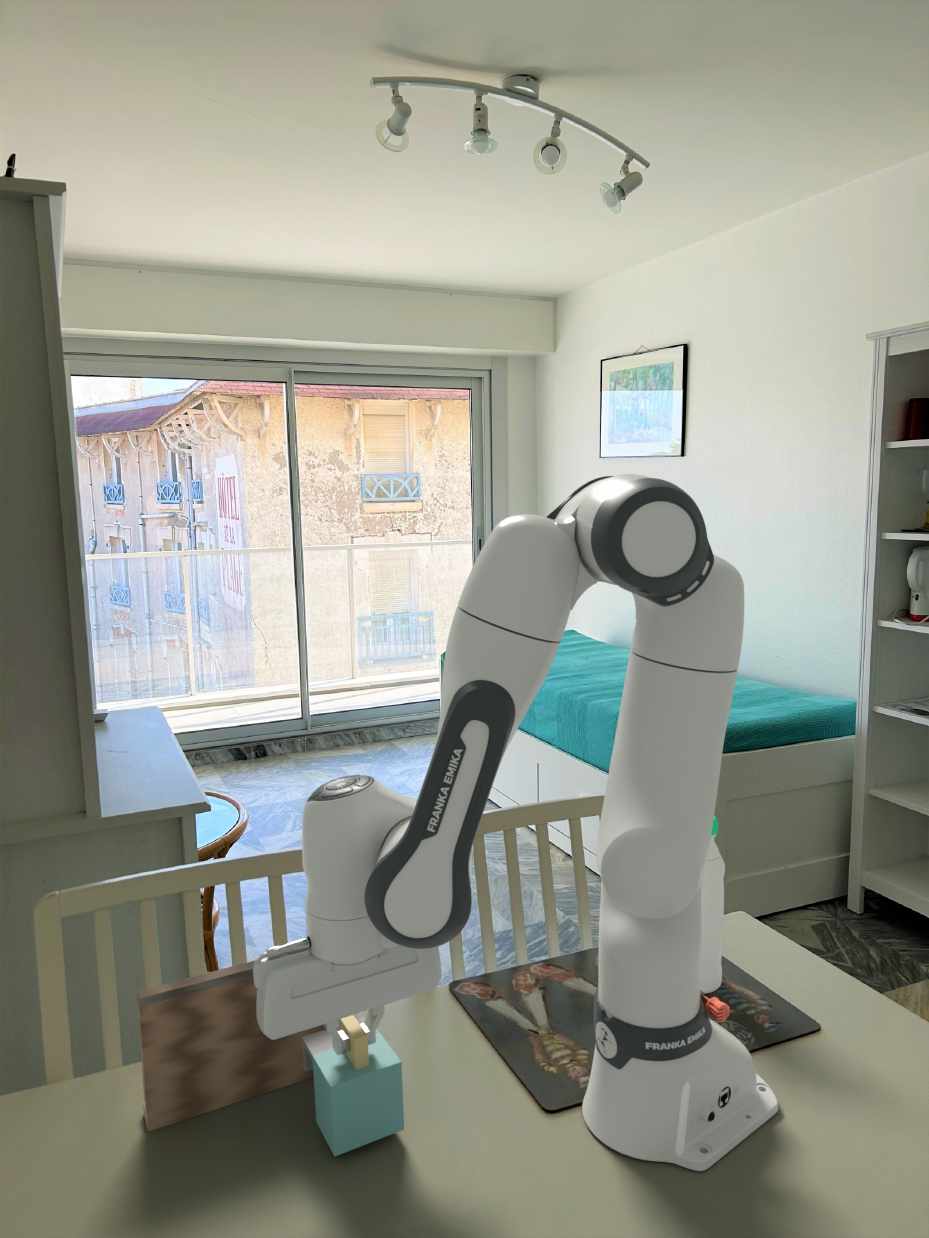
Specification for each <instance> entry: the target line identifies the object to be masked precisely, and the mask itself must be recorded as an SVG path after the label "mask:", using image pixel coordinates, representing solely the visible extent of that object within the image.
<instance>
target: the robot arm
mask: <svg viewBox="0 0 929 1238" xmlns="http://www.w3.org/2000/svg"><path fill="white" fill-rule="evenodd" d="M598 582H599V583H600V582H601V583H606V584H610V585H614V586H617V587H619V588H621V589H623V590H625V591H627V592H629V593H631V595H632V596H633V599H634V604H635V620H636V621H635V625H634V629H633V635H632V639H631V644H630V650H629V655H628V659H627V667H626V673H625V678H624V683H623V689H622V694H621V695H622V696H621V702H620V707H619V713H618V717H617V718H618V719H617V724H616V730H615V736H614V741H613V748H612V753H611V757H610V763H609V770H608V775H607V782H606V786H605V792H604V796H603V802H602V809H601V813H600V814H601V815H600V820H599V826H598V830H597V831H598V832H597V837H596V843H595V858H596V865H597V869H598V872H599V877H600V879H601V884H600V903H599V921H598V968H597V969H598V976H597V978H598V980H597V981H598V983H597V984H598V985H597V988H596V990H595V992H594V999H593V1001H594V1002H593V1032H594V1039H595V1040H594V1041H595V1045H594V1051H593V1059H592V1065H591V1070H590V1075H589V1079H588V1084H587V1088H586V1091H585V1094H584V1097H583V1100H582V1105H581V1107H582V1114H583V1115H582V1116H583V1119H584V1122H585V1123H586V1126H587V1127H588V1129H589V1130H590V1131H591V1133H592V1134H593V1135H594V1136H595V1137H596V1138H597V1139H598V1140H599V1141H600V1142H602V1143H603V1144H604V1145H606V1146H607V1147H609V1148H610V1149H613V1151H614V1150H615V1151H616V1152H618V1153H620V1154H622V1155H625V1156H628V1157H631V1158H634V1159H638V1160H642V1161H648V1162H649V1161H650V1162H662V1163H664V1162H665V1163H670V1164H675V1165H677V1166H680V1167H682V1168H686V1169H689V1170H693V1171H697V1172H703V1171H706V1170H708V1169H709V1168H711V1167H712V1166H713V1165H714V1164H715V1163H717V1162H718V1161H719V1160H721V1158H723V1157H724V1156H725V1155H726V1154H728V1153H729V1152H730V1151H731V1150H733V1149H734V1148H735V1147H736V1146H737V1145H739V1144H740V1143H741V1142H743V1141H744V1140H745V1139H746V1138H747V1137H749V1136H750V1135H751V1134H752V1133H754V1132H755V1131H756V1130H757V1129H759V1128H760V1127H761V1126H762V1125H763V1124H765V1123H766V1122H767V1121H769V1119H771V1118H772V1117H773V1116H775V1115H776V1113H778V1111H779V1103H778V1099H777V1097H776V1095H775V1093H774V1092H773V1090H772V1089H771V1087H770V1086H769V1084H768V1083H767V1082H766V1081H765V1080H764V1079H763V1078H762V1077H761V1076H760V1075H759V1074H758V1073H757V1071H756V1065H755V1061H754V1059H753V1057H752V1055H751V1053H750V1051H749V1050H748V1048H747V1047H746V1046H745V1045H744V1044H743V1043H742V1041H740V1040H739V1038H737V1037H736V1036H735V1035H734V1034H732V1033H731V1032H729V1030H727V1029H726V1028H724V1026H721V1025H720V1024H718V1023H717V1022H719V1023H723V1022H725V1021H726V1020H727V1019H728V1017H729V1016H730V1012H731V1010H730V1006H729V1005H728V1004H727V1003H726V1002H723V1001H720V999H719V998H718V997H716V996H713V997H711V998H709V997H708V996H705V994H704V992H703V991H701V990H700V977H701V942H702V925H701V882H702V879H703V876H704V872H705V869H706V863H707V857H708V851H709V845H710V839H711V832H712V826H713V819H714V816H715V813H716V812H715V811H716V805H717V804H716V803H717V796H718V790H719V782H720V774H721V767H722V759H723V751H724V743H725V737H726V731H727V728H728V727H727V726H728V721H729V716H730V712H731V706H732V702H733V697H734V691H735V686H736V681H737V676H738V671H739V664H740V658H741V653H742V645H743V637H744V626H745V625H744V623H745V585H744V580H743V577H742V575H741V573H740V572H739V570H738V569H737V568H736V567H735V566H734V565H733V564H731V563H730V562H729V561H727V560H726V559H724V558H723V557H720V556H717V555H715V554H714V553H713V549H712V547H711V544H710V542H709V538H708V533H707V527H706V523H705V519H704V516H703V514H702V512H701V510H700V507H699V506H698V504H697V503H696V502H695V500H694V499H693V498H692V497H691V495H689V494H688V493H687V492H686V491H685V490H684V489H682V488H680V487H679V486H678V485H676V484H675V483H673V482H671V481H668V480H665V479H663V478H662V479H661V478H656V477H655V478H654V477H650V476H646V475H642V474H635V473H626V474H624V473H623V474H618V475H607V476H606V475H605V476H600V477H597V478H594V479H591V480H589V481H587V482H585V483H584V484H582V485H580V486H579V487H578V488H577V489H575V491H573V492H572V493H571V494H570V495H569V496H568V497H567V498H565V500H564V501H562V502H561V503H560V504H559V505H558V506H557V507H556V508H555V509H554V510H553V511H551V512H550V513H549V514H548V515H547V516H543V515H539V514H532V513H531V514H529V513H524V514H515V515H510V516H508V517H507V516H506V517H505V518H503V519H501V521H499V522H498V523H497V524H496V525H495V526H494V528H493V529H492V531H491V533H490V535H488V538H487V539H486V541H485V542H484V544H483V546H482V548H481V550H480V552H479V554H478V555H477V557H476V559H475V561H474V564H473V566H472V568H471V571H470V572H469V574H468V577H467V579H466V582H465V584H464V587H463V589H462V591H461V595H460V597H459V600H458V603H457V606H456V608H455V611H454V615H453V617H452V621H451V625H450V629H449V633H448V636H447V637H448V638H447V642H446V646H445V647H446V648H445V654H444V660H443V661H444V662H443V669H442V679H441V695H440V708H439V709H440V711H439V719H438V729H437V736H436V740H435V743H434V744H435V745H434V749H433V752H432V755H431V759H430V761H429V765H428V766H427V767H428V768H427V769H426V770H427V771H426V773H425V777H424V779H423V781H422V785H421V788H420V791H419V794H418V796H417V798H413V797H410V796H406V795H404V794H401V793H399V792H396V791H394V790H393V789H390V788H388V787H386V786H385V785H383V784H382V783H381V782H380V781H379V780H378V779H376V778H375V777H374V776H371V775H365V774H362V775H361V774H352V775H351V774H350V775H344V776H341V777H337V778H335V779H331V780H330V781H328V782H326V783H323V784H321V785H320V786H319V787H317V788H316V789H315V790H314V791H313V792H311V794H310V796H309V797H308V798H307V799H306V802H305V804H304V808H303V813H302V826H301V827H302V828H301V850H302V851H301V853H302V855H301V857H302V869H303V871H304V874H305V878H306V880H307V891H306V895H305V902H304V906H305V907H304V909H305V925H306V927H305V928H306V937H304V938H300V939H297V940H292V941H290V942H288V943H285V944H282V945H273V946H271V947H268V948H267V949H266V950H265V952H263V954H261V955H259V956H258V957H257V959H255V960H256V961H255V960H254V961H255V963H254V966H253V980H254V985H255V987H256V989H257V1003H256V1015H257V1021H258V1024H259V1027H260V1029H261V1031H262V1032H263V1034H265V1035H266V1036H267V1037H268V1038H270V1039H271V1040H275V1039H279V1038H282V1037H285V1036H288V1035H291V1034H294V1033H298V1032H301V1031H304V1030H307V1029H310V1028H313V1027H317V1026H320V1025H324V1027H325V1028H326V1030H327V1031H328V1032H329V1034H330V1035H331V1036H332V1044H333V1049H334V1051H335V1053H336V1054H337V1055H340V1054H344V1053H346V1052H349V1051H350V1050H351V1047H350V1046H349V1045H350V1037H349V1035H348V1034H347V1033H346V1031H345V1030H341V1031H337V1030H336V1029H335V1028H338V1027H339V1026H340V1025H339V1019H342V1018H345V1017H348V1016H351V1015H357V1014H360V1013H364V1012H367V1011H368V1012H367V1014H366V1016H365V1017H366V1019H365V1021H364V1023H362V1024H360V1025H361V1027H362V1028H363V1029H364V1031H365V1032H366V1034H367V1035H368V1045H370V1044H373V1043H376V1031H375V1029H378V1027H379V1025H380V1023H381V1021H382V1018H383V1017H384V1015H385V1005H389V1004H392V1003H395V1002H397V1001H402V1000H405V999H407V998H411V997H414V996H417V995H420V994H424V993H427V992H430V991H433V990H435V989H436V988H437V987H438V985H439V983H440V982H441V981H442V980H441V979H442V962H441V961H442V960H441V953H440V949H439V947H440V946H443V945H444V944H447V943H448V942H451V941H452V940H453V939H455V938H456V937H457V936H458V935H459V934H460V933H461V932H462V931H463V929H464V928H465V927H466V925H467V923H468V920H469V918H470V915H471V910H472V900H473V899H472V898H473V897H472V875H473V874H472V873H473V863H474V850H475V849H474V848H475V840H476V839H475V838H476V837H477V832H478V830H479V827H480V823H481V821H482V818H483V815H484V811H485V808H486V806H487V802H488V801H489V797H490V794H491V791H492V787H493V785H494V782H495V780H496V778H497V777H496V776H497V774H498V770H499V767H500V765H501V763H502V760H503V758H504V756H505V754H506V752H507V750H508V748H509V746H510V744H511V743H512V740H513V738H514V736H515V734H516V732H517V731H518V730H519V727H520V725H521V723H522V721H523V719H524V718H525V716H526V714H527V712H528V711H529V709H530V707H531V705H532V704H533V702H534V700H535V698H536V696H537V695H538V693H539V691H540V690H541V687H542V686H543V683H544V681H545V679H546V677H547V675H548V673H549V671H550V668H551V667H552V664H553V662H554V660H555V658H556V655H557V654H558V650H559V648H560V644H561V641H562V639H563V635H564V633H565V629H566V627H567V624H568V620H569V617H570V613H571V611H573V609H574V608H575V606H576V604H577V602H578V600H579V599H580V598H581V597H582V595H584V593H585V592H586V591H587V590H588V589H589V588H591V587H593V586H594V585H596V584H597V583H598ZM263 958H265V959H263ZM709 1015H710V1016H712V1017H713V1018H714V1019H715V1020H716V1021H717V1022H716V1021H714V1020H713V1019H711V1018H710V1017H709Z"/></svg>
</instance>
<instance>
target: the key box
mask: <svg viewBox="0 0 929 1238" xmlns="http://www.w3.org/2000/svg"><path fill="white" fill-rule="evenodd" d="M354 1015H355V1014H354ZM354 1015H351V1016H348V1017H345V1018H342V1019H340V1026H339V1027H338V1028H335V1029H336V1030H337V1031H341V1030H345V1031H346V1033H347V1034H348V1035H349V1037H350V1045H349V1046H350V1047H351V1050H350V1051H349V1052H346V1053H344V1054H340V1055H337V1054H336V1053H335V1051H334V1049H333V1044H332V1036H331V1035H330V1034H329V1032H328V1031H327V1030H326V1029H325V1030H322V1031H319V1032H316V1033H313V1034H310V1035H307V1036H303V1037H302V1048H303V1065H304V1069H305V1071H306V1072H307V1071H309V1070H312V1069H313V1074H314V1077H313V1087H314V1104H315V1122H316V1124H317V1126H318V1128H319V1130H320V1132H321V1134H322V1135H323V1137H324V1139H325V1141H326V1143H327V1146H328V1147H329V1148H330V1151H331V1153H332V1154H333V1157H337V1156H339V1155H342V1154H345V1153H347V1152H350V1151H352V1150H355V1149H358V1148H360V1147H362V1146H366V1145H368V1144H370V1143H373V1142H375V1141H378V1140H381V1139H384V1138H386V1137H389V1136H392V1135H394V1134H396V1133H399V1132H401V1131H404V1130H405V1114H404V1113H405V1112H404V1095H403V1093H404V1092H403V1091H404V1089H403V1070H402V1067H403V1066H402V1061H401V1059H400V1058H399V1057H398V1055H397V1053H395V1051H394V1050H393V1048H392V1047H391V1046H390V1044H389V1043H388V1041H387V1040H386V1039H385V1038H384V1035H382V1033H381V1032H380V1031H379V1029H378V1028H377V1029H375V1031H376V1043H373V1044H370V1045H368V1035H367V1034H366V1032H365V1031H364V1029H363V1028H362V1027H361V1025H360V1024H362V1023H364V1021H365V1019H366V1016H363V1017H359V1018H356V1017H355V1016H354Z"/></svg>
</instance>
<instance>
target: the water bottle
mask: <svg viewBox="0 0 929 1238" xmlns="http://www.w3.org/2000/svg"><path fill="white" fill-rule="evenodd" d="M718 830H719V821H718V818H717V817H716V815H714V819H713V826H712V832H711V839H710V845H709V851H708V857H707V863H706V869H705V872H704V876H703V879H702V882H701V925H702V942H701V977H700V990H701V991H703V992H704V995H705V994H710V993H712V992H713V993H714V992H715V991H717V990H718V989H719V988H720V987H721V985H722V981H723V980H722V978H723V966H722V957H723V950H724V949H723V939H722V935H723V927H724V916H725V915H724V911H725V910H724V909H725V885H724V883H725V882H724V877H725V872H726V865H725V861H724V859H723V857H722V854H721V853H720V849H719V847H718V846H717V844H716V842H715V838H716V836H717V833H718Z"/></svg>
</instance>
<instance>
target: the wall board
mask: <svg viewBox="0 0 929 1238" xmlns="http://www.w3.org/2000/svg"><path fill="white" fill-rule="evenodd" d="M265 958H266V957H265ZM265 958H263V959H265ZM256 960H257V959H255V960H251V961H249V962H244V963H239V964H236V965H233V966H229V967H225V968H221V969H216V970H213V971H210V972H205V973H202V974H198V975H194V976H190V977H189V976H188V977H186V978H181V979H177V980H174V981H171V982H167V983H162V984H159V985H154V986H151V987H147V988H144V989H139V990H136V999H137V1001H136V1002H137V1014H138V1027H139V1028H138V1029H139V1031H138V1032H139V1041H140V1043H139V1044H140V1056H141V1057H140V1058H141V1069H142V1070H141V1074H142V1083H143V1084H142V1086H143V1099H144V1101H142V1109H143V1111H142V1112H143V1117H144V1121H145V1125H146V1129H147V1132H148V1133H149V1132H153V1131H155V1130H159V1129H162V1128H165V1127H168V1126H170V1125H174V1124H176V1123H179V1122H182V1121H185V1120H188V1119H192V1118H194V1117H198V1116H201V1115H203V1114H207V1113H210V1112H212V1111H216V1110H219V1109H222V1108H225V1107H228V1106H231V1105H234V1104H237V1103H240V1102H243V1101H246V1100H248V1099H252V1098H255V1097H259V1096H260V1095H265V1094H267V1093H270V1092H274V1091H276V1090H278V1089H279V1090H280V1089H282V1088H286V1087H289V1086H291V1085H295V1084H298V1083H301V1082H304V1081H307V1080H309V1079H312V1078H313V1079H314V1074H313V1069H312V1070H309V1071H307V1072H306V1071H305V1069H304V1065H303V1048H302V1037H303V1036H307V1035H310V1034H313V1033H316V1032H319V1031H322V1030H325V1029H326V1028H325V1027H324V1025H320V1026H317V1027H313V1028H310V1029H307V1030H304V1031H301V1032H298V1033H294V1034H291V1035H288V1036H285V1037H282V1038H279V1039H275V1040H271V1039H270V1038H268V1037H267V1036H266V1035H265V1034H263V1032H262V1031H261V1029H260V1027H259V1024H258V1021H257V1015H256V1003H257V989H256V987H255V985H254V980H253V966H254V963H255V961H256ZM339 1025H340V1019H339Z"/></svg>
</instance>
